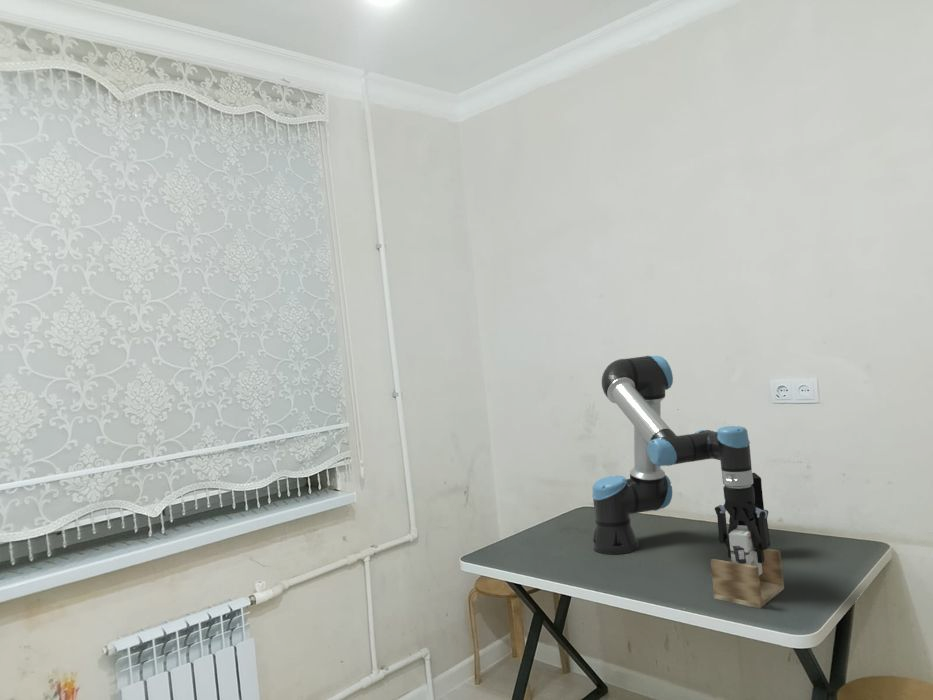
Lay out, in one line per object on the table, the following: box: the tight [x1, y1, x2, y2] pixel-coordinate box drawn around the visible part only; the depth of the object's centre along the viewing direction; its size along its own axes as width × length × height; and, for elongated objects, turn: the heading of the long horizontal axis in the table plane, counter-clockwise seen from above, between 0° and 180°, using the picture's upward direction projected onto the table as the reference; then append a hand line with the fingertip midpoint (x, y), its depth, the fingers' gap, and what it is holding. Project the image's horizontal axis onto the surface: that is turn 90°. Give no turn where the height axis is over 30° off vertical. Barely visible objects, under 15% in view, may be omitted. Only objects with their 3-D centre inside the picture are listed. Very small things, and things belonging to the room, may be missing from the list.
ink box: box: [729, 525, 755, 566], centre depth 171 cm, size 8×5×12 cm, turn 140°
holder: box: [709, 548, 785, 609], centre depth 171 cm, size 12×15×10 cm
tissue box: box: [737, 472, 765, 538], centre depth 198 cm, size 8×8×28 cm
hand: (747, 572), depth 171 cm, fingers closed on ink box, 5 cm apart
